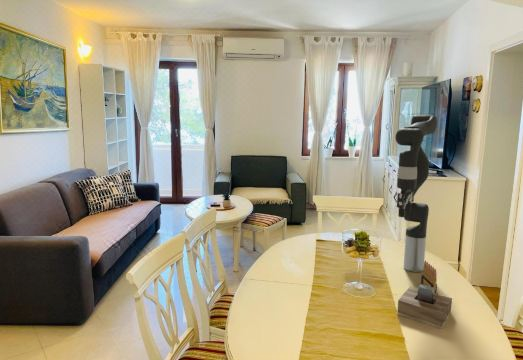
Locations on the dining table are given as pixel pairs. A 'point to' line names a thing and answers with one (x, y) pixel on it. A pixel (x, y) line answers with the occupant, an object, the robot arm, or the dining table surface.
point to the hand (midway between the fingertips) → (404, 214)
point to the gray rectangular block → (425, 294)
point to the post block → (424, 308)
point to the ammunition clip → (429, 276)
